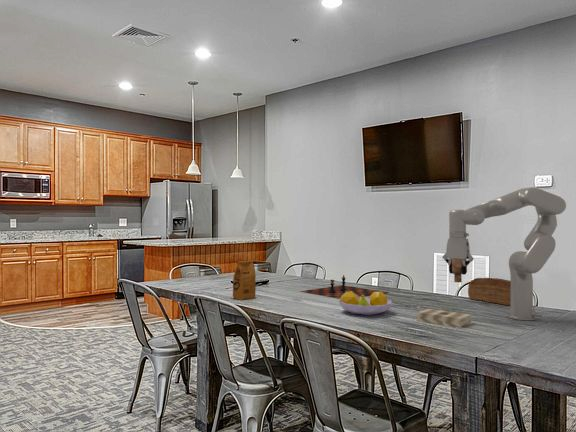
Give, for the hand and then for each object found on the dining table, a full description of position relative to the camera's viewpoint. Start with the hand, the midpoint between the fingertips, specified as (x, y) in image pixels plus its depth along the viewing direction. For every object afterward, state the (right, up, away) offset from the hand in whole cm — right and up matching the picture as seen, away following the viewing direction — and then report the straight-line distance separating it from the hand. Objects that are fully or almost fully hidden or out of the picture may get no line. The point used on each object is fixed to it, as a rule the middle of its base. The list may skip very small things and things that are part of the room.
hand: (457, 273), depth 223 cm
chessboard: (-45, -22, +75) cm, 91 cm away
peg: (0, -4, 0) cm, 4 cm away
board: (-10, -21, -10) cm, 25 cm away
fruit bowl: (-43, -21, +11) cm, 49 cm away
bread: (+36, -22, +42) cm, 60 cm away
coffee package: (-107, -21, +51) cm, 120 cm away
